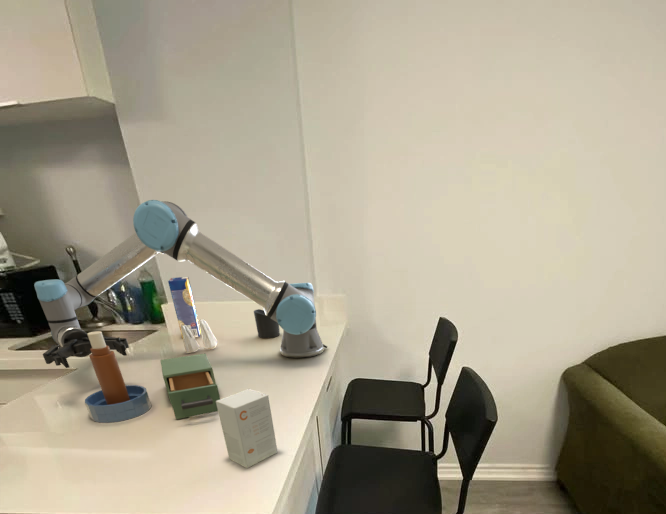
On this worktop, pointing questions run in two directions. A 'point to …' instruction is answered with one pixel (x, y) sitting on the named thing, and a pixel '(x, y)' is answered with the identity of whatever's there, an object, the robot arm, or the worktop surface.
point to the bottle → (107, 370)
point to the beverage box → (184, 304)
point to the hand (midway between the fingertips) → (95, 356)
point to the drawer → (193, 394)
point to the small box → (247, 427)
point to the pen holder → (265, 325)
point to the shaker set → (207, 338)
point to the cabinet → (185, 367)
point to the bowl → (118, 405)
